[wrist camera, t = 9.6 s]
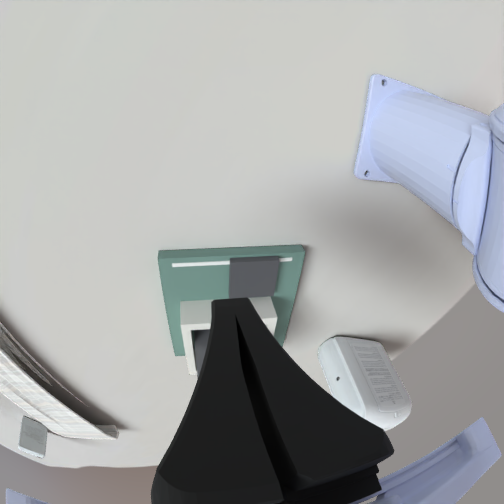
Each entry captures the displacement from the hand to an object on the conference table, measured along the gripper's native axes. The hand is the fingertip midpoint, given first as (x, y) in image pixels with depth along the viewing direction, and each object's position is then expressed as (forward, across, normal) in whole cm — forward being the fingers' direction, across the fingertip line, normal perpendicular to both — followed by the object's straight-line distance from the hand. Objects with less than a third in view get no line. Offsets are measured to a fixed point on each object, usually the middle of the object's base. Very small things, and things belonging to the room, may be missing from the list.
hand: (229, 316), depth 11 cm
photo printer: (+11, -17, +20) cm, 28 cm away
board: (+10, -2, +10) cm, 14 cm away
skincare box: (+11, +40, +46) cm, 62 cm away
